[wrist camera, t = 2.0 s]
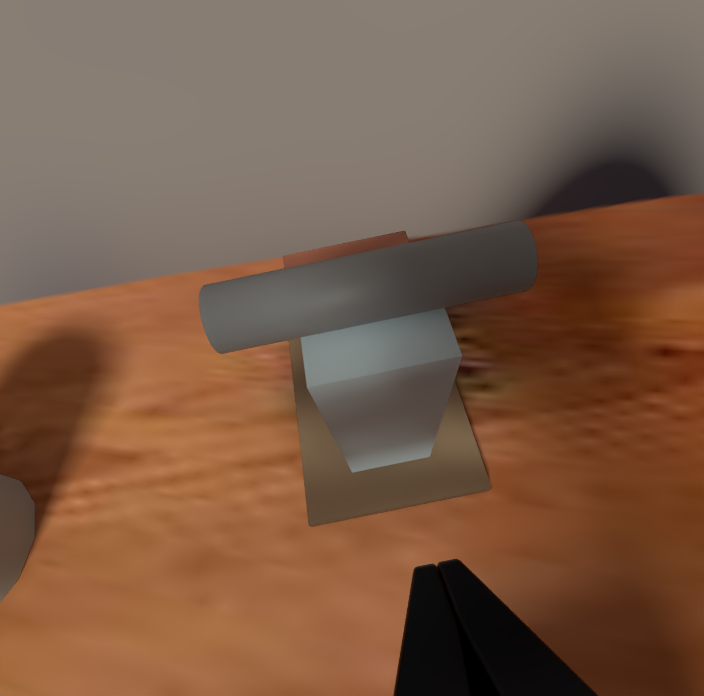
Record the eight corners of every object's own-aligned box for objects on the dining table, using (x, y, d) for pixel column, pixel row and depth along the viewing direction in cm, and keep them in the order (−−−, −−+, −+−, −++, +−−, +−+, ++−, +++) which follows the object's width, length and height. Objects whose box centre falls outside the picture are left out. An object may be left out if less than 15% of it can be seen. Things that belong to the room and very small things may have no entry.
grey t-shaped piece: (468, 448, 19) (569, 296, 8) (313, 480, 19) (196, 373, 8) (445, 378, 21) (499, 176, 10) (304, 407, 21) (201, 239, 10)
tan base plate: (488, 490, 19) (515, 470, 14) (312, 526, 19) (286, 517, 15) (418, 283, 26) (422, 226, 21) (287, 310, 26) (265, 259, 21)
